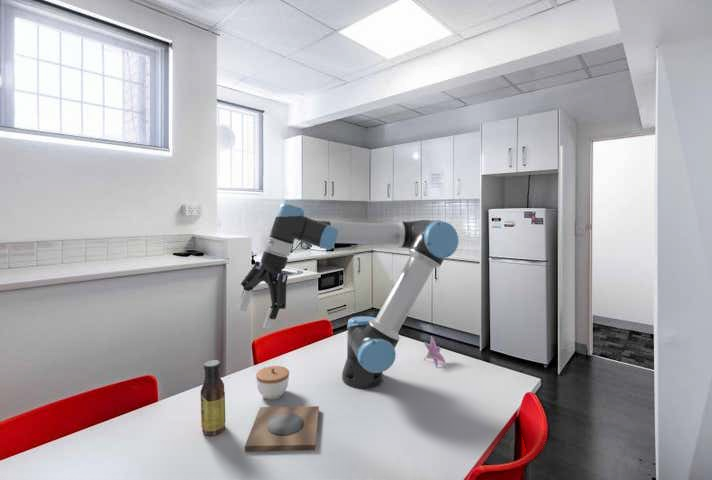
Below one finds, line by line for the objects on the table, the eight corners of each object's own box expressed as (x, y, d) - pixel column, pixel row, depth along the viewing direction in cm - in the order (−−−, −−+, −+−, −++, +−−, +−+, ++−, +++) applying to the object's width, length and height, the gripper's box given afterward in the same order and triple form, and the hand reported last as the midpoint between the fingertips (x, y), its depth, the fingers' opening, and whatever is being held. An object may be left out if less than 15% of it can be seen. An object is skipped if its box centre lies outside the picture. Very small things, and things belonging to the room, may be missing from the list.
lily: (421, 372, 139) (434, 354, 137) (409, 350, 149) (420, 333, 146) (443, 375, 145) (456, 358, 142) (430, 354, 155) (441, 338, 152)
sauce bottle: (206, 423, 102) (204, 357, 100) (228, 423, 102) (227, 356, 101) (197, 438, 95) (196, 367, 94) (221, 437, 96) (220, 366, 94)
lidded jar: (281, 405, 112) (281, 377, 111) (250, 401, 114) (250, 373, 114) (293, 388, 123) (293, 362, 122) (265, 385, 125) (265, 359, 124)
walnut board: (318, 410, 109) (319, 405, 109) (315, 450, 91) (315, 443, 91) (260, 411, 108) (260, 406, 108) (244, 451, 90) (244, 444, 90)
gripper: (244, 240, 112) (222, 302, 112) (293, 264, 97) (268, 336, 97) (263, 244, 118) (242, 304, 118) (312, 267, 103) (288, 336, 103)
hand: (253, 319), depth 108 cm, fingers open, 13 cm apart
